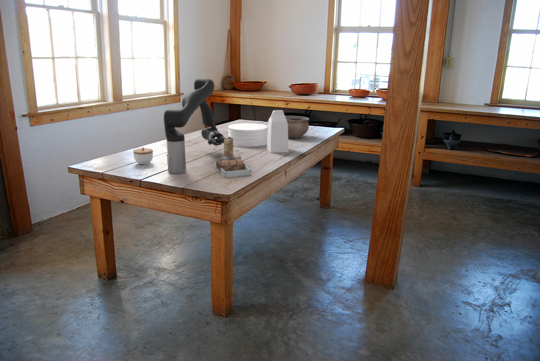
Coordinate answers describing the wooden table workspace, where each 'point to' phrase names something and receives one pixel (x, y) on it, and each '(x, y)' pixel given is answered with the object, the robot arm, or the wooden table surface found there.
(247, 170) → the tray
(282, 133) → the milk
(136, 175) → the wooden table surface
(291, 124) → the ceramic bowl
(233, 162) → the tile mid
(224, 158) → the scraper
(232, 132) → the plate stack
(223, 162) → the tile left
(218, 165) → the board
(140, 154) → the lidded jar
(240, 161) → the tile right
